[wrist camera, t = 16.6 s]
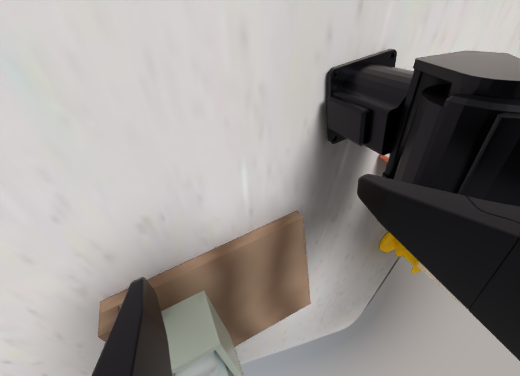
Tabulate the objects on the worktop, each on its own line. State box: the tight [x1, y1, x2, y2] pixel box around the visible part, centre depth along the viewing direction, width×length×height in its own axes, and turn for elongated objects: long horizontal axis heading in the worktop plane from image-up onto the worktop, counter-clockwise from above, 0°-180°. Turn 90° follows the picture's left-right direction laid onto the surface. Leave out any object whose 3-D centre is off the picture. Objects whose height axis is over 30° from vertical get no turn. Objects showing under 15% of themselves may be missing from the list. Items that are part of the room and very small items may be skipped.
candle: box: [380, 232, 467, 309], centre depth 34 cm, size 5×5×16 cm
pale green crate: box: [161, 290, 244, 376], centre depth 26 cm, size 6×11×6 cm, turn 11°
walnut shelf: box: [98, 211, 311, 347], centre depth 29 cm, size 20×18×3 cm
